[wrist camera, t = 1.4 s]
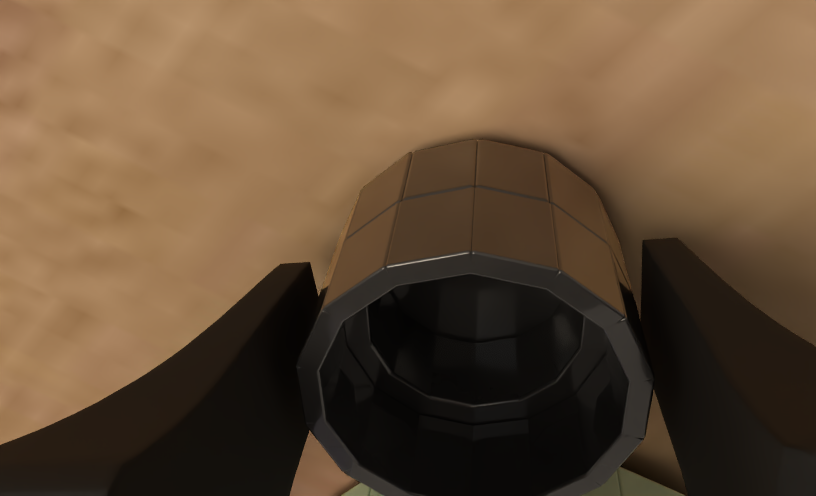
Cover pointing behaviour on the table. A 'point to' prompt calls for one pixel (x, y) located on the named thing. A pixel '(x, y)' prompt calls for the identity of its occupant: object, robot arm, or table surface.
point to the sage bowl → (621, 492)
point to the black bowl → (477, 332)
